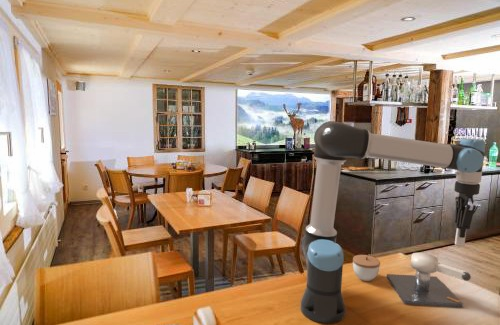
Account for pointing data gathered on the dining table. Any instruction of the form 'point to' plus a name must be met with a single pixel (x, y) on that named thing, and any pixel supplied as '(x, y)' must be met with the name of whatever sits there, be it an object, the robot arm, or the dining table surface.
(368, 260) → the lidded jar
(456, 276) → the coupling lever handle
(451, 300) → the base
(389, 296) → the dining table surface
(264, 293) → the dining table surface
